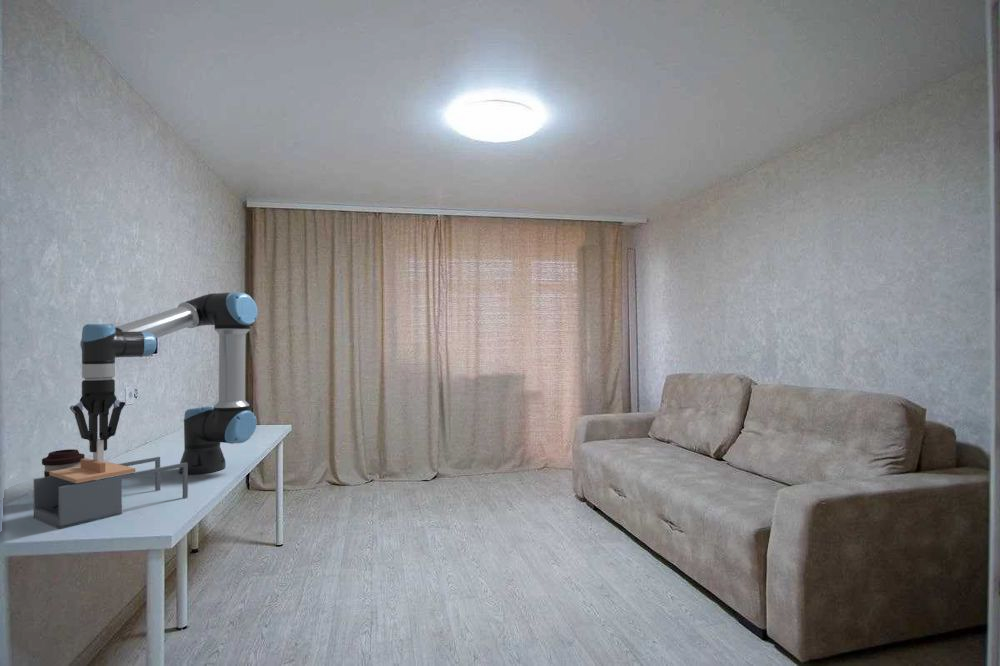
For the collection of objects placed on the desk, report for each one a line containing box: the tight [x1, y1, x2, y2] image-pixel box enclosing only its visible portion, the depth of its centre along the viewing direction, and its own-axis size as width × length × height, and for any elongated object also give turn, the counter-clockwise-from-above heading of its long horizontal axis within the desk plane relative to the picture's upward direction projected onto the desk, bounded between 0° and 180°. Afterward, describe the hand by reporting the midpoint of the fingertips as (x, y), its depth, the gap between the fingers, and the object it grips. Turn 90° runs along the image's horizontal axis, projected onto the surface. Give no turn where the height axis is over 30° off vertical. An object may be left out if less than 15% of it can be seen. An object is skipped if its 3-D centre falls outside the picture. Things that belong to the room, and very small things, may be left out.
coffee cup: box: [41, 448, 86, 477], centre depth 163 cm, size 10×10×15 cm
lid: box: [49, 457, 136, 483], centre depth 153 cm, size 14×17×4 cm
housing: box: [33, 456, 189, 530], centre depth 158 cm, size 32×17×10 cm, turn 148°
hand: (98, 463), depth 154 cm, fingers closed
